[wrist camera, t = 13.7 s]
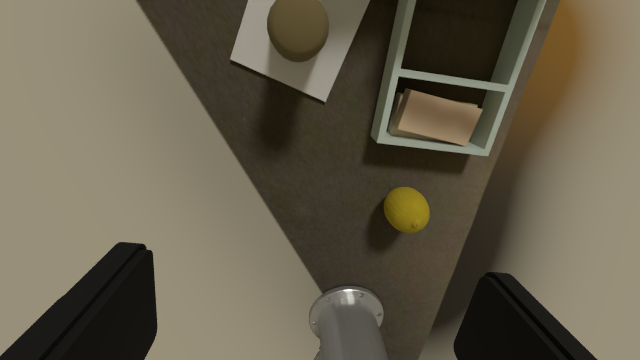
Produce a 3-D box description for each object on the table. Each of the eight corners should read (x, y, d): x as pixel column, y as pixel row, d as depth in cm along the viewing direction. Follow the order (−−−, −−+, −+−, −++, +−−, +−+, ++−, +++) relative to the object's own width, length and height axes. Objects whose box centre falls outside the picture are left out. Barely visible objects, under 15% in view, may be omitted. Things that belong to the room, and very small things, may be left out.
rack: (473, 148, 41) (537, 183, 30) (370, 135, 39) (399, 167, 28) (533, -26, 33) (650, -65, 22) (409, -51, 32) (470, -107, 21)
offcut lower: (456, 139, 41) (464, 143, 39) (386, 130, 40) (391, 134, 38) (468, 102, 39) (477, 105, 37) (395, 91, 38) (400, 94, 36)
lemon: (372, 187, 42) (388, 216, 35) (408, 171, 42) (432, 197, 34) (384, 218, 44) (402, 250, 37) (419, 203, 44) (444, 233, 37)
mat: (325, 101, 37) (325, 101, 37) (230, 59, 34) (230, 59, 34) (369, 0, 33) (370, -1, 33) (266, -57, 31) (266, -58, 30)
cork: (266, 54, 34) (253, 55, 24) (276, -5, 32) (266, -31, 22) (317, 68, 35) (325, 74, 25) (330, 11, 33) (345, -7, 23)
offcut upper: (458, 141, 39) (466, 146, 37) (392, 125, 37) (397, 128, 36) (473, 106, 37) (482, 109, 35) (405, 88, 36) (411, 89, 34)
